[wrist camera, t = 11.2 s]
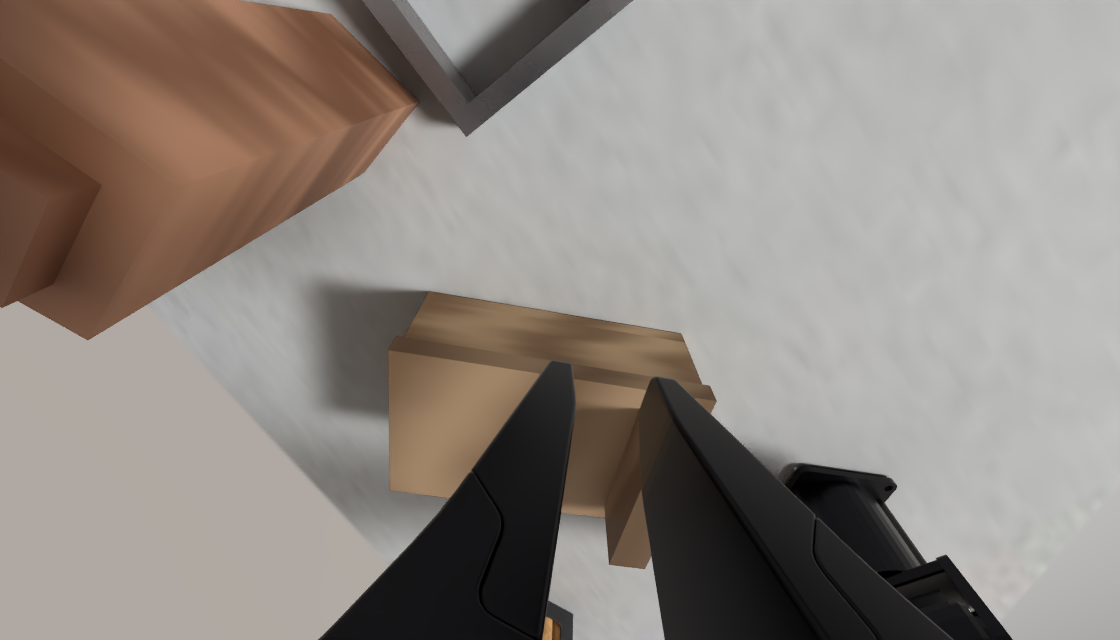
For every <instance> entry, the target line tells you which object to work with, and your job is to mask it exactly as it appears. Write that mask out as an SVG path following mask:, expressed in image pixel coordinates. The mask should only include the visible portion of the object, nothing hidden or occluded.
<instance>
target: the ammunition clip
mask: <svg viewBox="0 0 1120 640" xmlns="http://www.w3.org/2000/svg"><path fill="white" fill-rule="evenodd" d="M542 640H573V614H572V613H570V612H568V611H566V610H565V609H563V608H561V607H559V606H557V605H555V604H553V603H552V602H550V601H548V605H547V612H546V619H545V626H544V632H543V639H542Z"/></svg>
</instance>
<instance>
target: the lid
mask: <svg viewBox="0 0 1120 640" xmlns="http://www.w3.org/2000/svg"><path fill="white" fill-rule="evenodd" d="M550 361H551V360H544V359H538V358H532V357H525V356H519V355H513V354H506V353H500V352H494V351H488V350H481V349H475V348H469V347H462V346H456V345H450V344H443V343H437V342H431V341H425V340H418V339H412V338H406V337H399V336H396V338H395V339H394V341H393V343H392V344H391V346H390V348H389V350H388V377H389V461H390V490H391V491H399V492H407V493H414V494H422V495H430V496H437V497H445V498H450V497H451V496H452V495H453V493H454V492H455V491H456V489H457V488H458V487H459V485H460V484H461V483H462V481H463V480H464V478H465V477H466V476H467V474H468V473H469V472H471V470H472V468H473V466H474V465H475V464H476V462H477V461H478V460H479V458H480V457H481V455H482V454H483V453H484V451H485V450H486V449H487V447H488V446H489V444H490V443H491V442H492V440H493V439H494V438H495V436H496V435H497V433H498V432H499V431H500V429H501V428H502V426H503V425H504V424H505V422H506V421H507V420H508V418H509V417H510V415H511V414H512V413H513V411H514V410H515V409H516V407H517V406H518V404H519V403H520V402H521V400H522V399H523V398H524V396H525V395H526V393H527V392H528V391H529V389H530V388H531V386H532V385H533V384H534V382H535V381H536V380H537V378H538V377H539V375H540V374H541V373H542V371H543V370H544V369H545V367H546V366H547V364H548V363H549V362H550ZM572 366H573V375H574V384H575V394H576V414H575V421H574V428H573V434H572V441H571V448H570V455H569V462H568V469H567V475H566V482H565V489H564V496H563V503H562V510H561V513H569V514H576V515H584V516H592V517H600V518H605V521H606V533H607V544H608V556H609V565H616V566H624V567H632V568H640V569H645V568H646V566H647V564H648V562H649V560H650V558H651V550H650V544H649V538H648V531H647V525H646V519H645V513H644V507H643V499H642V491H641V474H640V450H639V426H638V415H639V410H640V406H641V404H642V401H643V398H644V395H645V393H646V390H647V387H648V385H649V382H650V380H651V379H652V378H653V377H652V376H645V375H639V374H633V373H626V372H620V371H614V370H607V369H601V368H595V367H588V366H582V365H576V364H572ZM676 381H677V380H676ZM677 382H678V383H679V384H680V385H681V386H682V387H683V388H684V389H685V390H686V391H687V392H688V393H689V394H690V395H691V396H692V397H693V398H694V399H696V400H697V401H698V402H699V403H700V404H701V405H702V406H703V407H704V408H705V409H706V410H707V411H708V412H709V413H710V414H711V412H712V410H713V408H714V405H715V403H716V399H715V396H714V394H713V392H712V389H711V387H710V386H708V385H702V384H696V383H689V382H683V381H677Z"/></svg>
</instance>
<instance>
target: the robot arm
mask: <svg viewBox="0 0 1120 640" xmlns="http://www.w3.org/2000/svg"><path fill="white" fill-rule="evenodd" d="M575 414H576V394H575V384H574V375H573V366H572V364H571V363H569V362H563V361H557V360H551V361H550V362H549V363H548V364H547V366H546V367H545V369H544V370H543V371H542V373H541V374H540V375H539V377H538V378H537V380H536V381H535V382H534V384H533V385H532V386H531V388H530V389H529V391H528V392H527V393H526V395H525V396H524V398H523V399H522V400H521V402H520V403H519V404H518V406H517V407H516V409H515V410H514V411H513V413H512V414H511V415H510V417H509V418H508V420H507V421H506V422H505V424H504V425H503V426H502V428H501V429H500V431H499V432H498V433H497V435H496V436H495V438H494V439H493V440H492V442H491V443H490V444H489V446H488V447H487V449H486V450H485V451H484V453H483V454H482V455H481V457H480V458H479V460H478V461H477V462H476V464H475V465H474V466H473V468H472V470H471V472H469V473H468V474H467V476H466V477H465V478H464V480H463V481H462V483H461V484H460V485H459V487H458V488H457V489H456V491H455V492H454V493H453V495H452V496H451V497H450V498H449V500H448V501H447V502H446V503H445V505H444V506H443V507H442V509H441V510H440V511H439V512H438V514H437V515H436V516H435V517H434V518H433V519H432V521H431V522H430V523H429V524H428V525H427V526H426V527H425V528H424V529H423V531H422V532H421V533H420V534H419V535H418V536H417V537H416V538H415V540H414V541H413V542H412V543H411V544H410V545H409V546H408V547H407V548H406V549H405V550H404V551H403V552H402V553H401V554H400V556H399V557H398V558H397V559H396V560H395V561H394V562H393V563H392V564H391V565H390V566H389V567H388V568H387V569H386V570H385V571H384V572H383V573H382V574H381V575H380V576H379V578H378V579H377V580H376V581H375V582H374V583H373V584H372V585H371V586H370V587H369V588H368V589H367V590H366V591H365V592H364V593H363V594H362V595H361V596H360V597H359V599H358V600H357V601H356V602H355V603H354V604H353V605H352V606H351V607H350V608H349V609H348V610H347V611H346V612H345V613H344V614H343V615H342V616H341V618H339V619H338V621H337V622H336V623H335V624H334V625H333V626H332V627H331V628H330V629H329V630H328V631H327V632H326V633H325V634H324V635H323V636H322V637H321V638H319V639H318V640H542V639H543V632H544V626H545V619H546V612H547V605H548V598H549V591H550V585H551V578H552V571H553V564H554V557H555V551H556V544H557V537H558V530H559V523H560V516H561V510H562V503H563V496H564V489H565V482H566V475H567V469H568V462H569V455H570V448H571V441H572V434H573V428H574V421H575ZM638 426H639V450H640V474H641V491H642V499H643V507H644V513H645V519H646V525H647V531H648V538H649V544H650V550H651V556H652V563H653V569H654V575H655V581H656V587H657V594H658V600H659V606H660V612H661V619H662V625H663V631H664V637H665V640H1012V638H1011V637H1010V636H1009V634H1008V633H1007V632H1006V630H1005V629H1004V628H1003V626H1002V625H1001V624H1000V623H999V621H998V620H997V619H996V617H995V616H994V615H993V614H992V612H991V611H990V610H989V608H988V607H987V606H986V605H985V603H984V602H983V601H982V600H981V598H980V597H979V596H978V594H977V593H976V592H975V591H974V589H973V588H972V587H971V585H970V584H969V583H968V582H967V580H966V579H965V578H964V577H963V575H962V574H961V573H960V571H959V570H958V569H957V568H956V566H955V565H954V564H953V562H952V561H951V560H950V559H949V557H948V556H947V555H943V556H940V557H937V558H936V559H937V560H935V561H932V562H929V563H926V561H925V560H924V558H923V557H922V556H921V554H920V553H919V551H918V550H917V548H916V547H915V546H914V544H913V543H912V541H911V540H910V538H909V537H908V536H907V534H906V533H905V531H904V530H903V529H902V527H901V526H900V524H899V523H898V521H897V520H896V519H895V517H894V516H893V514H892V513H891V511H890V510H889V509H888V507H887V506H886V504H885V503H884V502H885V501H886V500H887V499H888V498H889V497H890V496H891V494H892V493H893V492H894V491H895V490H896V488H897V485H896V484H895V482H894V481H893V480H892V479H891V478H886V477H879V476H872V475H865V474H858V473H852V472H845V471H838V470H831V469H824V468H817V467H810V466H803V467H800V468H799V469H798V470H797V471H796V472H795V474H794V475H793V477H792V478H791V480H790V481H789V483H788V484H787V486H785V485H784V484H783V483H782V482H781V481H780V480H779V479H777V478H776V477H775V476H774V475H773V474H772V473H771V472H770V471H769V470H768V469H767V468H766V467H765V466H764V465H763V464H762V463H761V462H760V461H759V460H758V459H757V458H756V457H755V456H754V455H753V454H752V453H750V452H749V451H748V450H747V449H746V448H745V447H744V446H743V445H742V444H741V443H740V442H739V441H738V440H737V439H736V438H735V437H734V436H733V435H732V434H731V433H730V432H729V431H728V430H727V429H726V428H725V427H724V426H722V425H721V424H720V423H719V422H718V421H717V420H716V419H715V418H714V417H713V416H712V415H711V414H710V413H709V412H708V411H707V410H706V409H705V408H704V407H703V406H702V405H701V404H700V403H699V402H698V401H697V400H696V399H694V398H693V397H692V396H691V395H690V394H689V393H688V392H687V391H686V390H685V389H684V388H683V387H682V386H681V385H680V384H679V383H678V382H677V381H676V380H674V379H671V378H665V377H658V376H655V377H653V378H652V379H651V380H650V382H649V385H648V387H647V390H646V393H645V395H644V398H643V401H642V404H641V406H640V410H639V415H638ZM969 609H970V610H971V612H970V611H969Z"/></svg>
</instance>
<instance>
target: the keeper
mask: <svg viewBox="0 0 1120 640" xmlns="http://www.w3.org/2000/svg"><path fill="white" fill-rule="evenodd" d="M362 1H363V2H364V3H365V5H366V6H367V7H368V9H369V10H370V11H371V13H372V14H373V15H374V17H375V18H376V19H377V20H378V22H379V23H380V24H381V26H382V27H383V28H384V30H385V31H386V32H387V34H388V35H389V36H390V38H391V39H392V40H393V41H394V43H395V44H396V45H397V47H398V48H399V49H400V51H401V52H402V53H403V55H404V56H405V57H406V58H407V60H408V61H409V62H410V64H411V65H412V66H413V68H414V69H415V70H416V72H417V73H418V74H419V75H420V77H421V78H422V79H423V81H424V82H425V83H426V85H427V86H428V87H429V89H430V90H431V91H432V93H433V94H434V95H435V96H436V98H437V99H438V100H439V102H440V103H441V104H442V106H443V107H444V108H445V110H446V111H447V112H448V113H449V115H450V116H451V117H452V119H453V120H454V121H455V123H456V124H457V125H458V127H459V128H460V129H461V131H462V132H463V133H464V134H465V136H466V137H467V136H468V135H469V134H471V133H472V132H473V131H474V130H475V129H477V128H478V127H479V126H480V125H482V124H483V123H484V122H485V121H486V120H488V119H489V118H490V117H491V116H493V115H494V114H495V113H496V112H497V111H499V110H500V109H501V108H502V107H504V106H505V105H506V104H507V103H508V102H510V101H511V100H512V99H513V98H514V97H516V96H517V95H518V94H519V93H521V92H522V91H523V90H524V89H525V88H527V87H528V86H529V85H530V84H532V83H533V82H534V81H535V80H536V79H538V78H539V77H540V76H541V75H543V74H544V73H545V72H546V71H547V70H549V69H550V68H551V67H552V66H554V65H555V64H556V63H557V62H558V61H560V60H561V59H562V58H563V57H564V56H566V55H567V54H568V53H569V52H571V51H572V50H573V49H574V48H575V47H577V46H578V45H579V44H580V43H582V42H583V41H584V40H585V39H586V38H588V37H589V36H590V35H591V34H593V33H594V32H595V31H596V30H597V29H599V28H600V27H601V26H602V25H604V24H605V23H606V22H607V21H608V20H610V19H611V18H612V17H613V16H615V15H616V14H617V13H618V12H619V11H621V10H622V9H623V8H624V7H625V6H627V5H628V4H629V3H630V2H632V1H633V0H590V1H589V2H588V3H586V4H585V5H584V6H583V7H582V8H580V9H579V10H578V11H577V12H576V13H575V14H573V15H572V16H571V17H570V18H569V19H567V20H566V21H565V22H564V23H563V24H562V25H560V26H559V27H558V28H557V29H556V30H555V31H553V32H552V33H551V34H550V35H549V36H547V37H546V38H545V39H544V40H543V41H542V42H540V43H539V44H538V45H537V46H536V47H534V48H533V49H532V50H531V51H530V52H529V53H527V54H526V55H525V56H524V57H523V58H522V59H520V60H519V61H518V62H517V63H516V64H514V65H513V66H512V67H511V68H510V69H509V70H507V71H506V72H505V73H504V74H503V75H501V76H500V77H499V78H498V79H497V80H496V81H494V82H493V83H492V84H491V85H490V86H489V87H487V88H486V89H485V90H484V91H483V92H481V93H480V94H479V95H478V96H477V97H476V95H475V94H474V93H473V91H472V90H471V88H470V87H469V86H468V84H467V83H466V82H465V80H464V79H463V77H462V76H461V75H460V73H459V72H458V70H457V69H456V68H455V66H454V65H453V64H452V62H451V61H450V59H449V58H448V57H447V55H446V54H445V52H444V51H443V50H442V48H441V47H440V46H439V44H438V43H437V41H436V40H435V39H434V37H433V36H432V34H431V33H430V32H429V30H428V29H427V28H426V26H425V25H424V23H423V22H422V21H421V19H420V18H419V16H418V15H417V14H416V12H415V11H414V10H413V8H412V7H411V5H410V4H409V3H408V1H407V0H362Z"/></svg>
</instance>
